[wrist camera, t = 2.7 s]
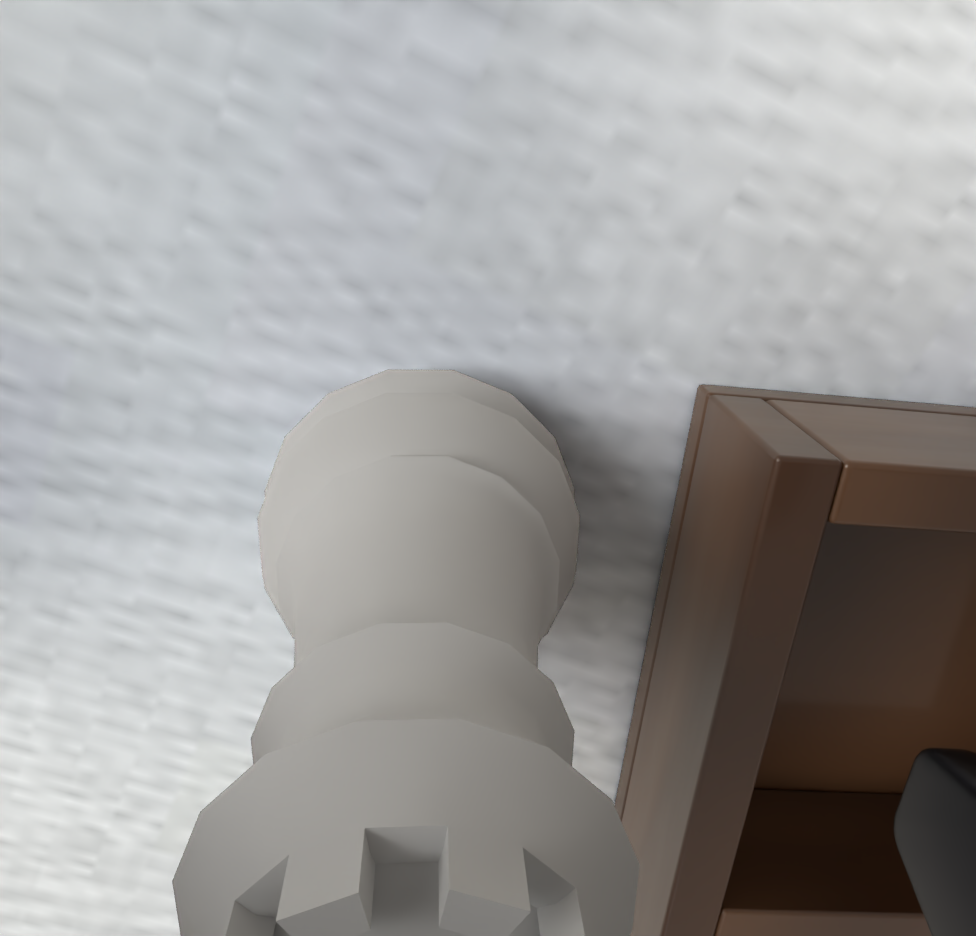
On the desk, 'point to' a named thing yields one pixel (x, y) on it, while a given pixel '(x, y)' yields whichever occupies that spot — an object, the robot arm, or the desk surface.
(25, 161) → the desk surface
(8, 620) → the desk surface
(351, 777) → the rook chess piece
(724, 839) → the grid
